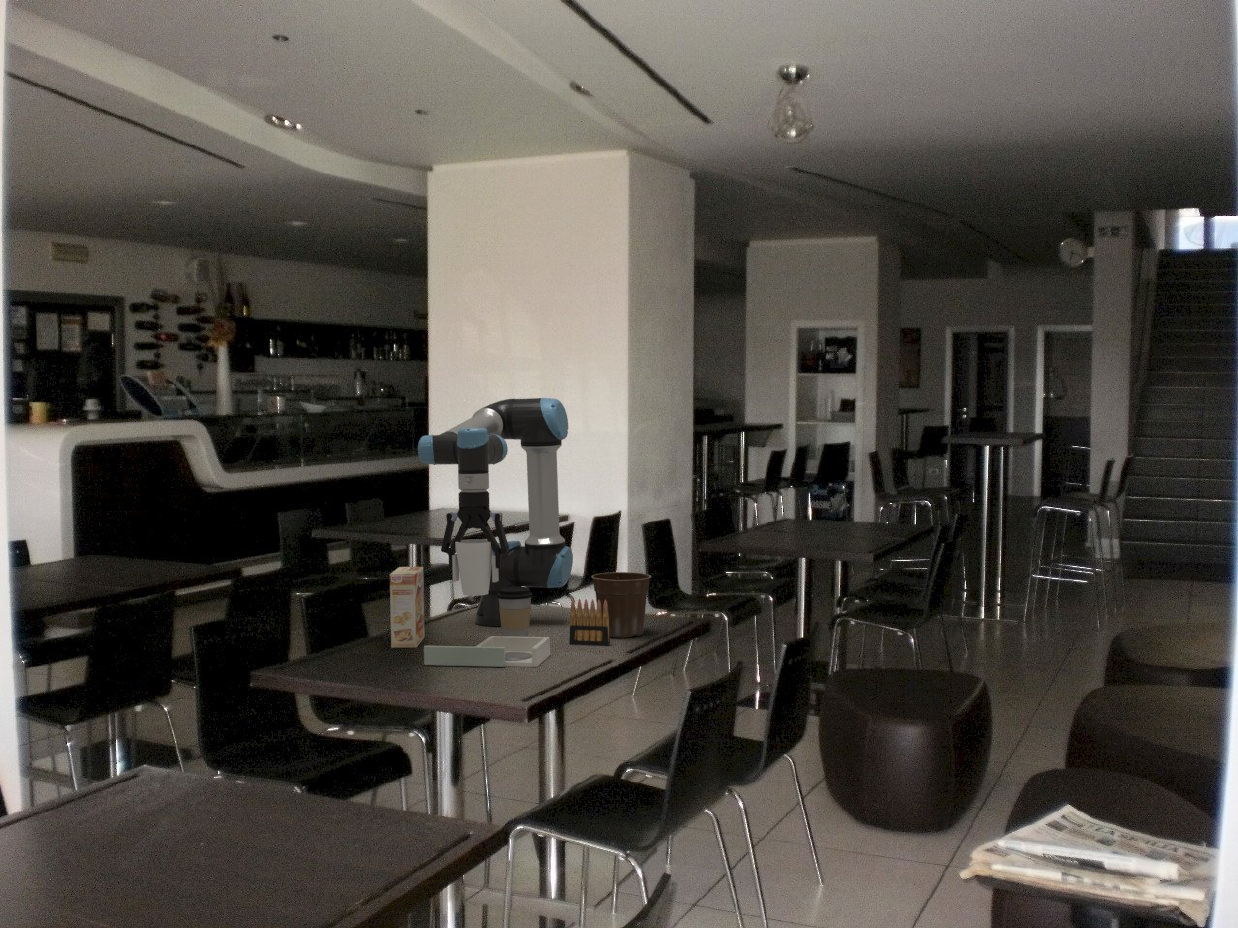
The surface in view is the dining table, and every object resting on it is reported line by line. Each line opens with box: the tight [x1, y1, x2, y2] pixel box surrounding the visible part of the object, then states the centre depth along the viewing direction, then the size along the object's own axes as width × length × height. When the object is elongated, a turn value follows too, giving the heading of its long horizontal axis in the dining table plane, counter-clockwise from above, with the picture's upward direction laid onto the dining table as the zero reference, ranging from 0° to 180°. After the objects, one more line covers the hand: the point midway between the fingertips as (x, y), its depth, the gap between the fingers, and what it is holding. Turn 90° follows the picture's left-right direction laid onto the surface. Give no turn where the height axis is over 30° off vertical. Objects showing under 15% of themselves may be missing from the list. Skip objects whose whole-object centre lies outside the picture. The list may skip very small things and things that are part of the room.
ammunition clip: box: [568, 598, 611, 647], centre depth 323 cm, size 11×2×12 cm, turn 76°
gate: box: [423, 645, 506, 668], centre depth 299 cm, size 1×20×4 cm, turn 80°
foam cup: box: [455, 538, 493, 597], centre depth 305 cm, size 10×9×13 cm
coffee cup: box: [497, 587, 533, 637], centre depth 323 cm, size 9×9×15 cm
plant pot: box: [591, 571, 652, 639], centre depth 337 cm, size 16×16×16 cm
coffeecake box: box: [389, 566, 425, 649], centre depth 330 cm, size 15×7×20 cm, turn 0°
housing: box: [475, 635, 551, 668], centre depth 305 cm, size 14×15×4 cm
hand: (475, 581), depth 305 cm, fingers closed on foam cup, 9 cm apart
